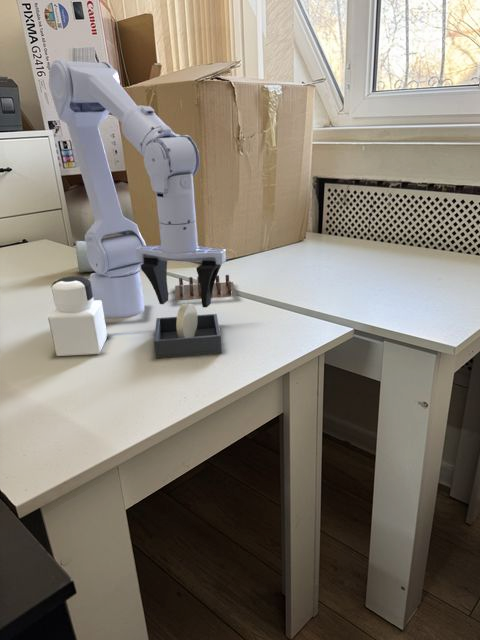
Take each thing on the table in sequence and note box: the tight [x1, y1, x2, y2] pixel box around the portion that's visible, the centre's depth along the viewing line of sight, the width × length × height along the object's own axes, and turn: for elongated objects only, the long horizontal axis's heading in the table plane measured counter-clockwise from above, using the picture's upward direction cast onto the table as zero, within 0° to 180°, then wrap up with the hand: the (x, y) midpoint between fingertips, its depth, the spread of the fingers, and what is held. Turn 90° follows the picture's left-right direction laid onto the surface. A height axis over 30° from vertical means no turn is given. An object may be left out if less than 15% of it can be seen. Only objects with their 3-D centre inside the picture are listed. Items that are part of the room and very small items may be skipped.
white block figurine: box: [47, 275, 108, 357], centre depth 84 cm, size 7×7×12 cm
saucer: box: [176, 302, 198, 338], centre depth 86 cm, size 1×6×6 cm, turn 165°
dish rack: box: [174, 274, 238, 301], centre depth 110 cm, size 13×10×3 cm
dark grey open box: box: [153, 313, 223, 359], centre depth 87 cm, size 11×10×3 cm
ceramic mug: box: [75, 240, 95, 273], centre depth 128 cm, size 10×8×8 cm
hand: (185, 303), depth 84 cm, fingers open, 7 cm apart
